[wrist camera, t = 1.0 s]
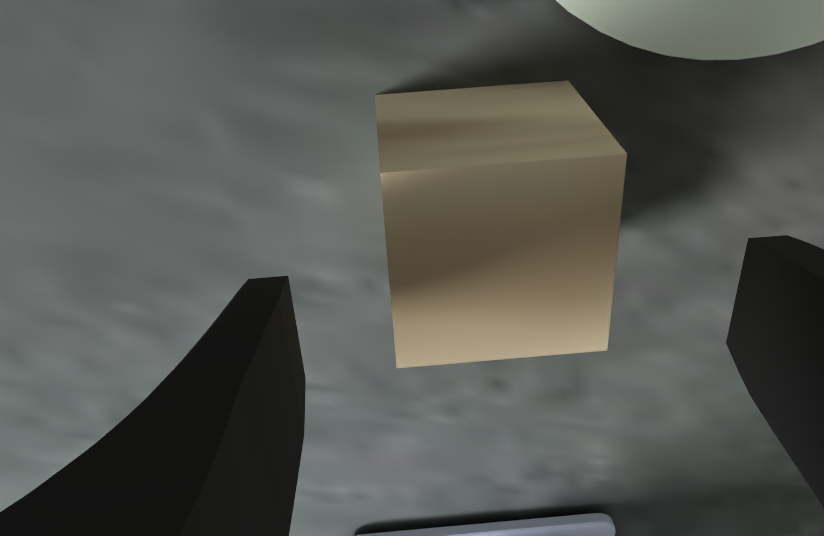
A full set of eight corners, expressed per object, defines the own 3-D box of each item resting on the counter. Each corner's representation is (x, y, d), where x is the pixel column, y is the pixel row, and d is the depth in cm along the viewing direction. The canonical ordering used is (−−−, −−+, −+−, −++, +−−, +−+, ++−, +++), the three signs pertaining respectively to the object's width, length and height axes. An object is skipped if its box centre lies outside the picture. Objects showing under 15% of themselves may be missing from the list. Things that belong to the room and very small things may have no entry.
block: (558, 246, 18) (607, 350, 14) (388, 260, 17) (397, 368, 14) (567, 79, 15) (626, 153, 12) (374, 93, 15) (380, 173, 12)
